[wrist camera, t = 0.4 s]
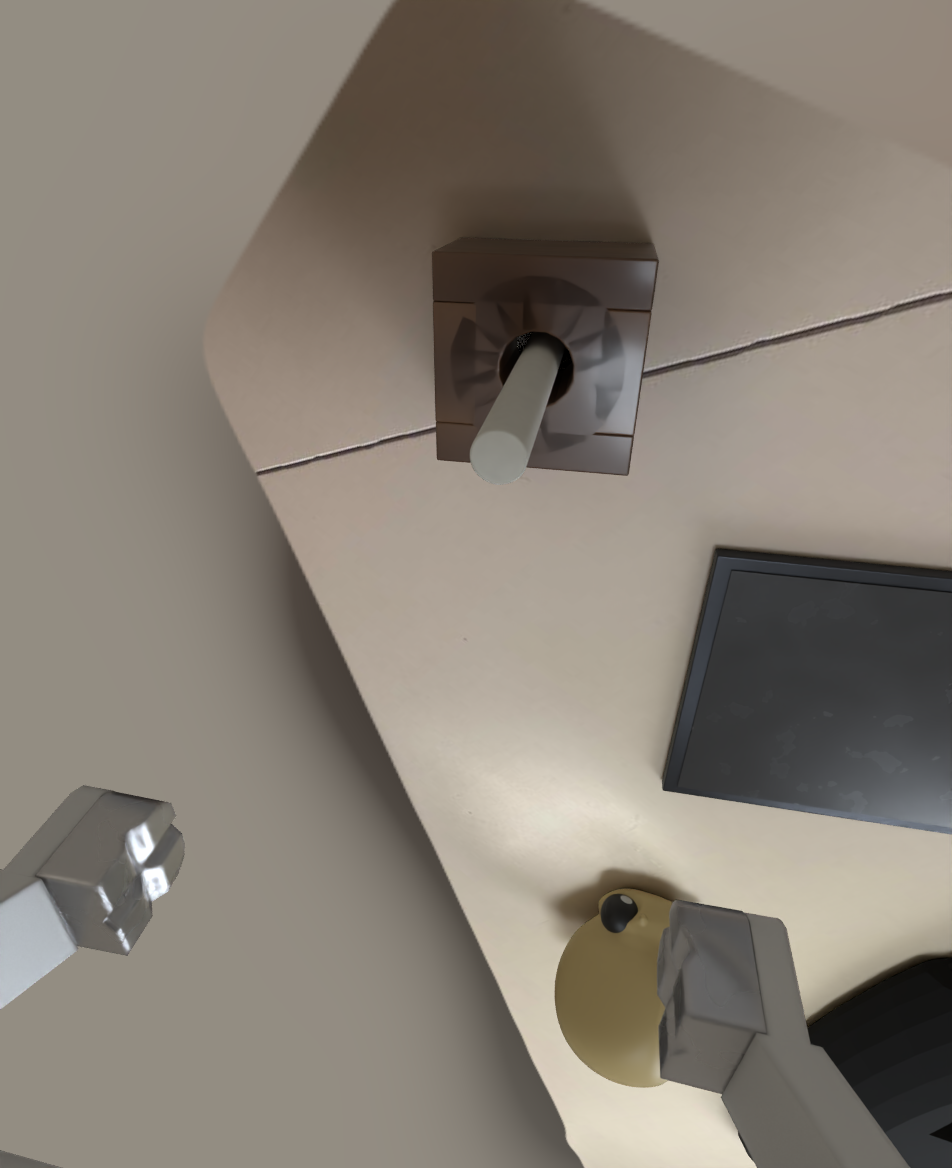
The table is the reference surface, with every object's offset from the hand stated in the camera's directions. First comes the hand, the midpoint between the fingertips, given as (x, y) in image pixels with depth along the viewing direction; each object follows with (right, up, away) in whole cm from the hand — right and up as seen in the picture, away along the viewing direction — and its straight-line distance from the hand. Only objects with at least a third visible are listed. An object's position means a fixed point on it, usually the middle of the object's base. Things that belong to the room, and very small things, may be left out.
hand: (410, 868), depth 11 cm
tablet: (+25, -2, +26) cm, 36 cm away
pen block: (+4, +15, +19) cm, 25 cm away
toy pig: (+13, -21, +41) cm, 47 cm away
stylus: (+4, +15, +19) cm, 25 cm away
